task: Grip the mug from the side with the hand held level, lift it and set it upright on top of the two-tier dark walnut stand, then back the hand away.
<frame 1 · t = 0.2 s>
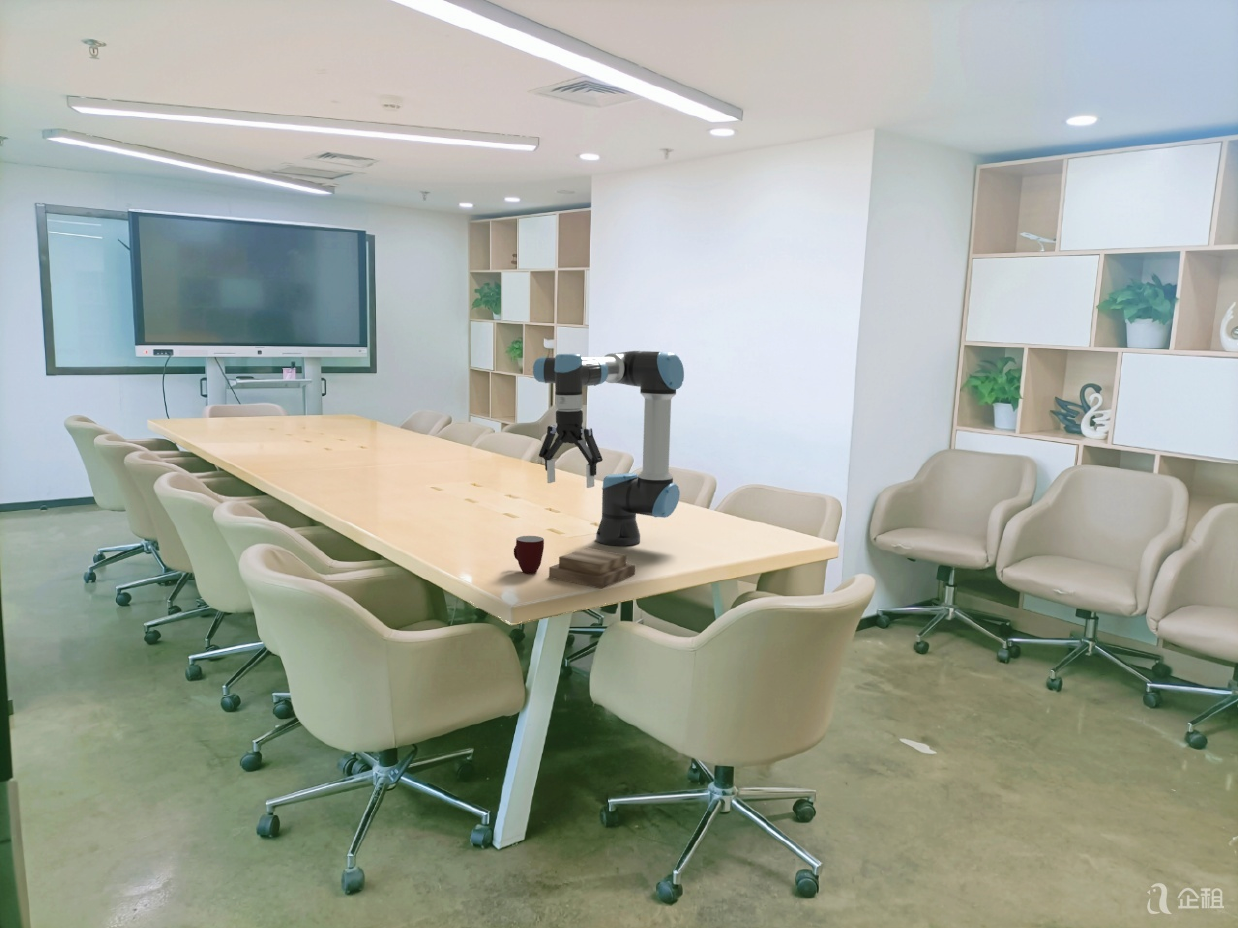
hand: (570, 484, 244), 27 cm above the table, tool pointing down, fingers open, 13 cm apart
mug: (526, 572, 254), on the table
stand: (592, 575, 251), on the table
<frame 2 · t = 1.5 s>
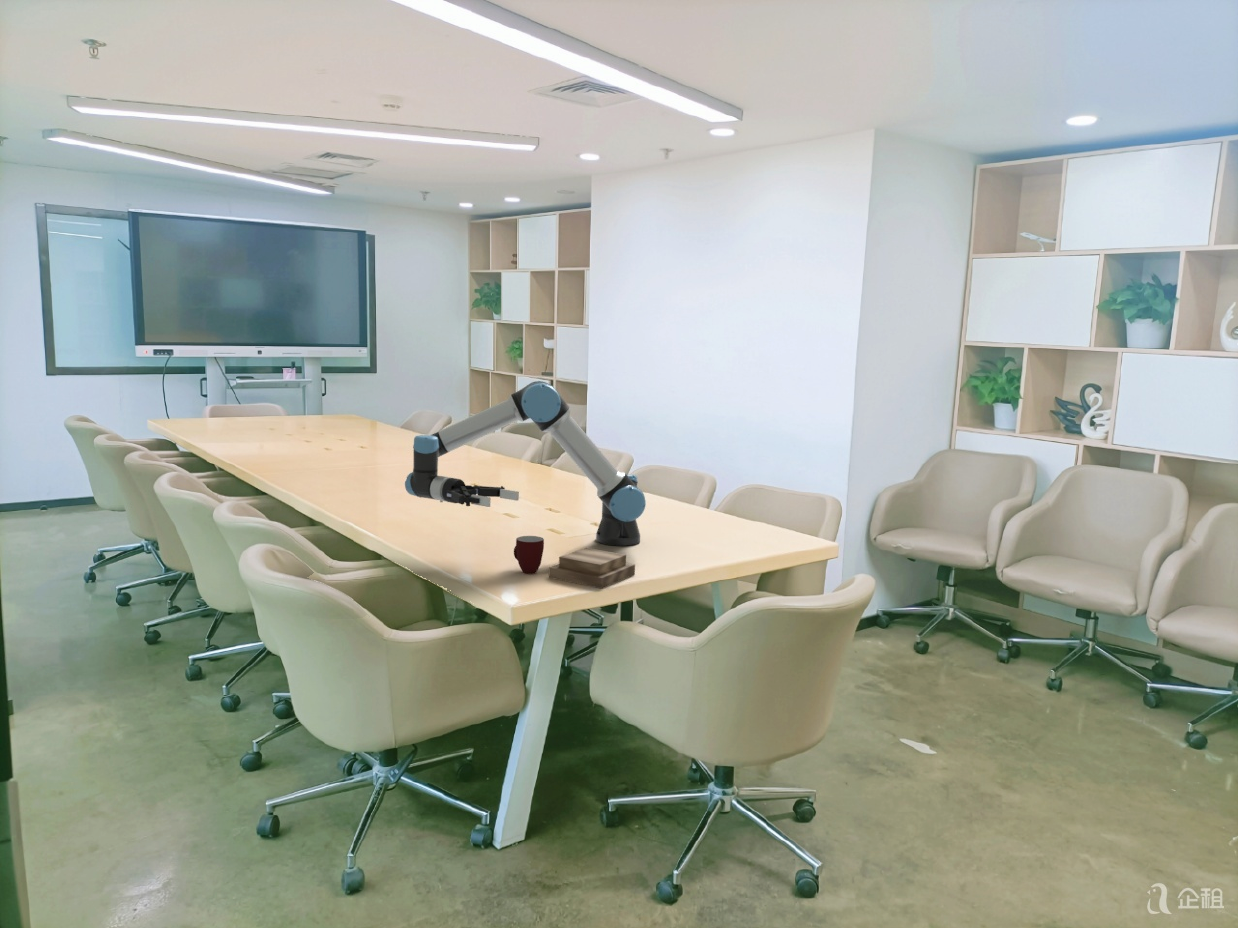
hand: (504, 499, 255), 21 cm above the table, tool horizontal, fingers open, 13 cm apart
nothing on the table moved.
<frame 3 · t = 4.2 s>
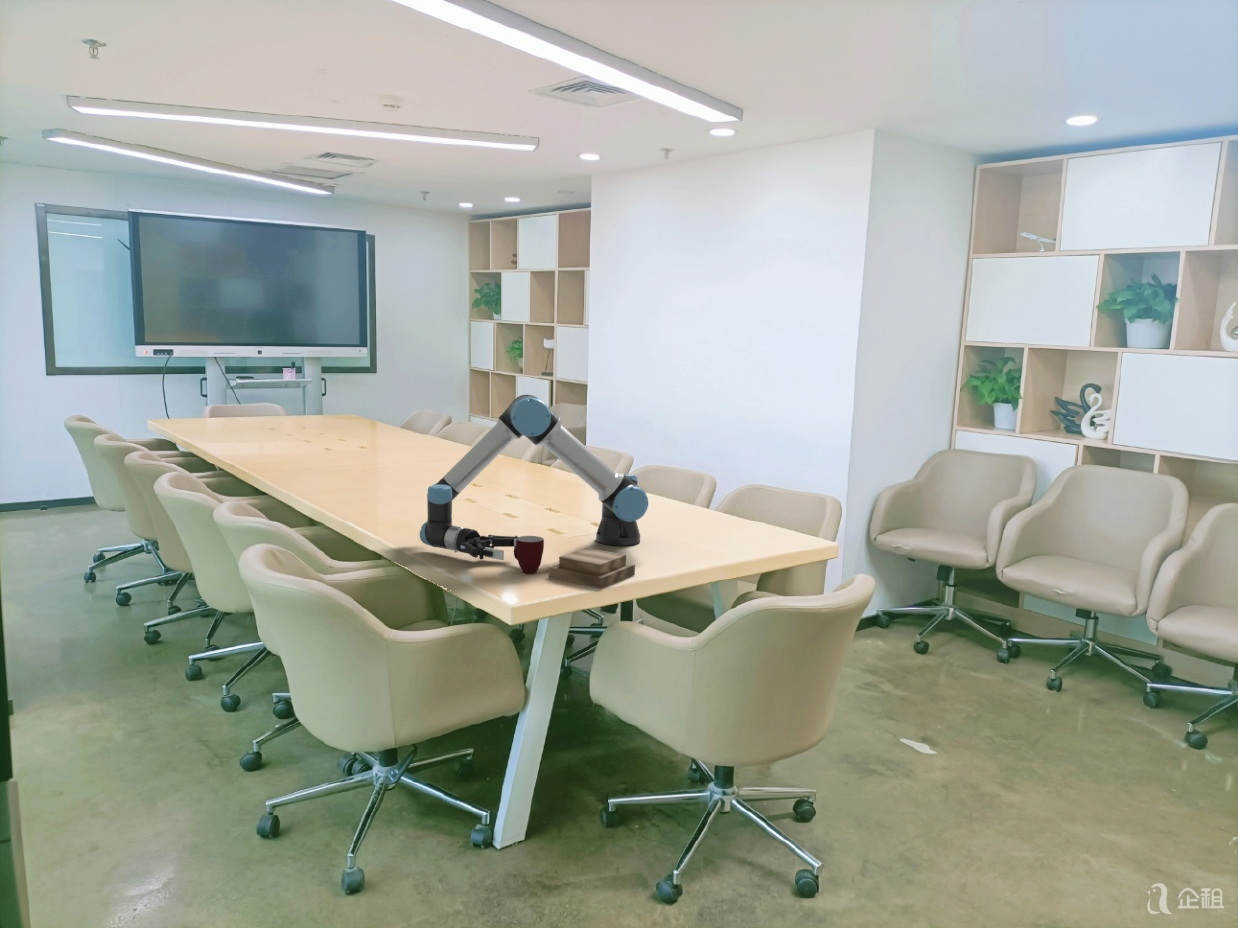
hand: (517, 550, 254), 6 cm above the table, tool horizontal, fingers open, 13 cm apart
nothing on the table moved.
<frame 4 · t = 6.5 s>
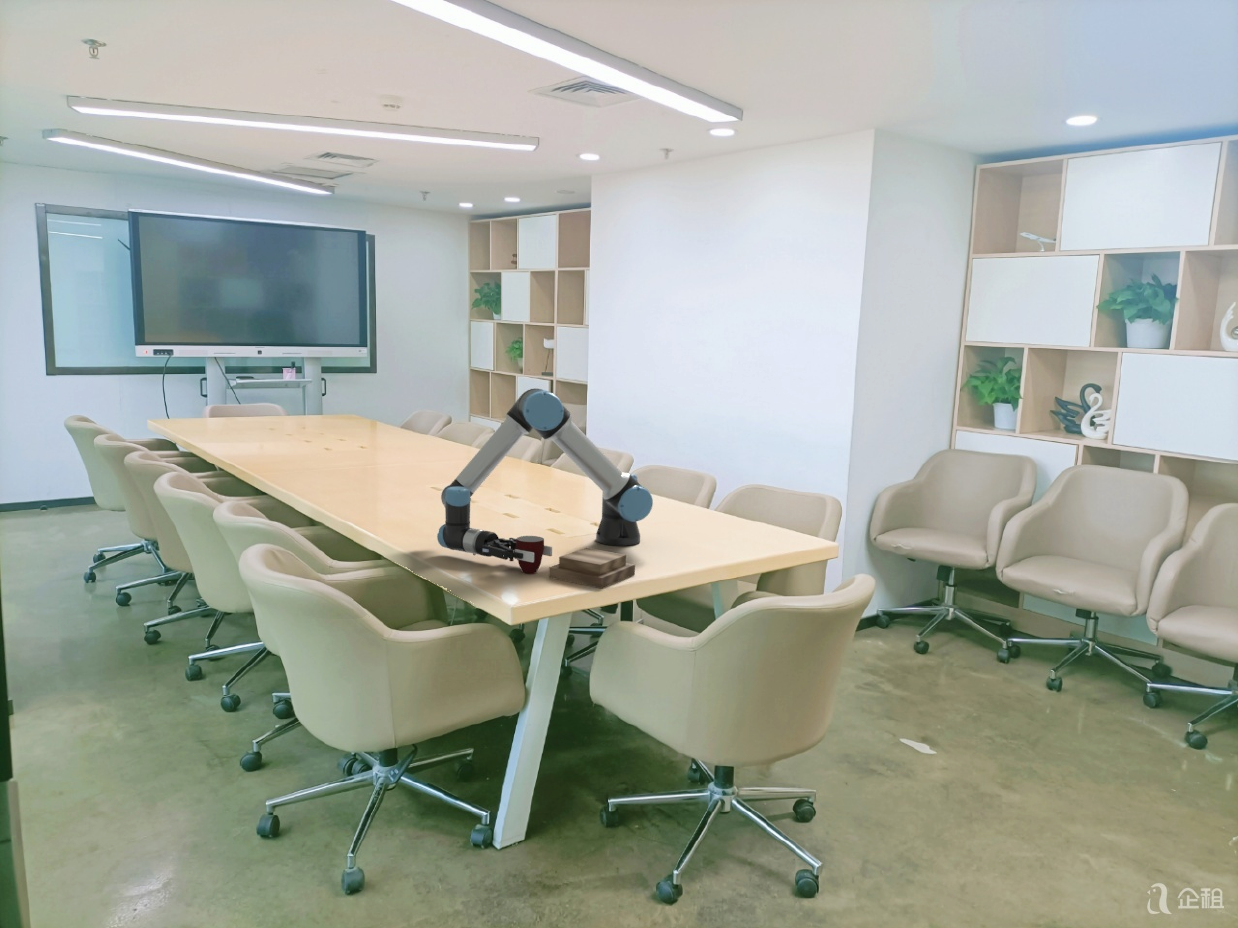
hand: (542, 554, 250), 6 cm above the table, tool horizontal, fingers closed on mug, 8 cm apart
mug: (526, 571, 254), on the table, touching gripper
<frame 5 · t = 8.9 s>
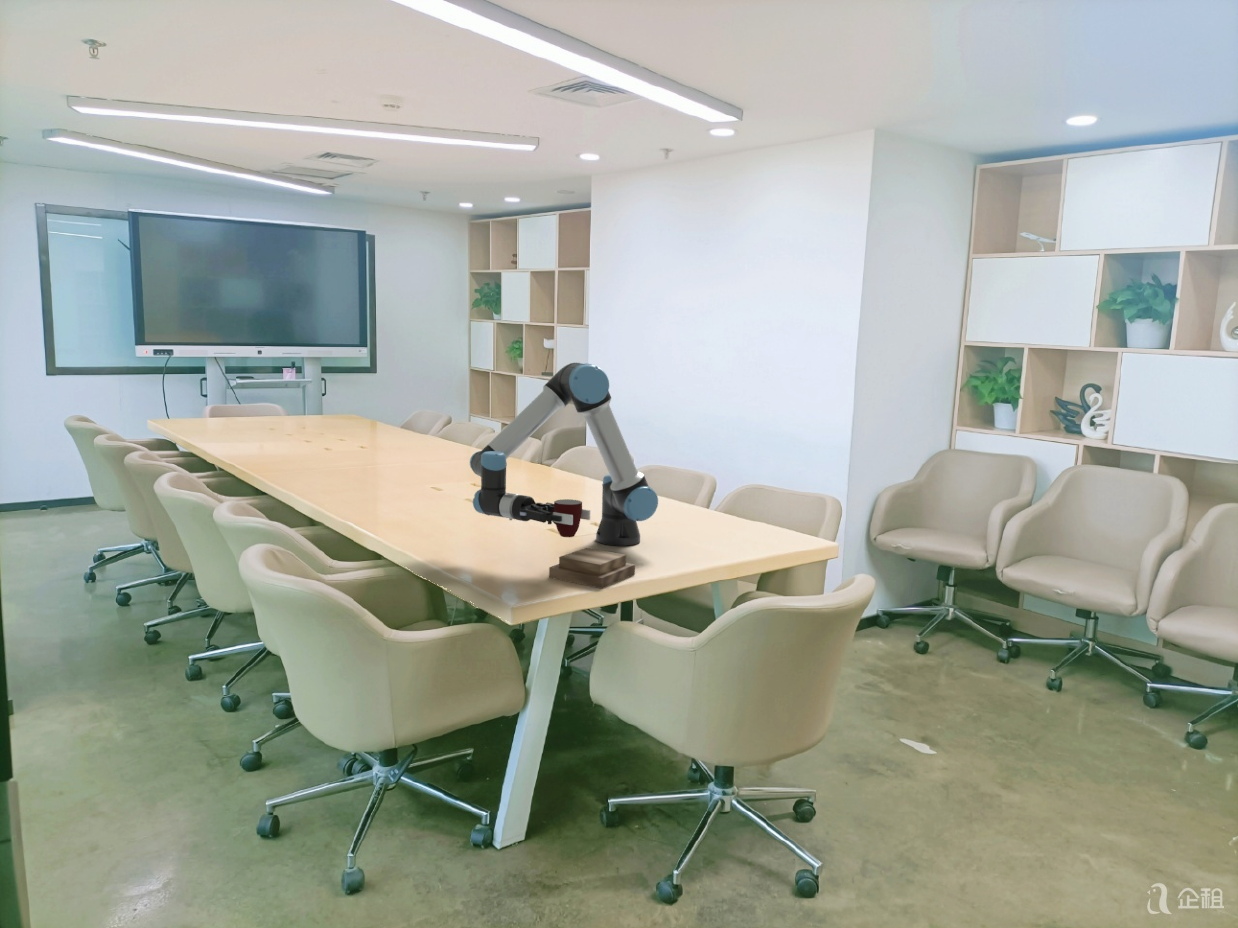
hand: (580, 517, 246), 18 cm above the table, tool horizontal, fingers closed on mug, 8 cm apart
mug: (563, 535, 250), point 12 cm above the table, touching gripper
when the fingers open (13 cm above the table, at t = 11.2 s): mug drops 1 cm, resting on stand.
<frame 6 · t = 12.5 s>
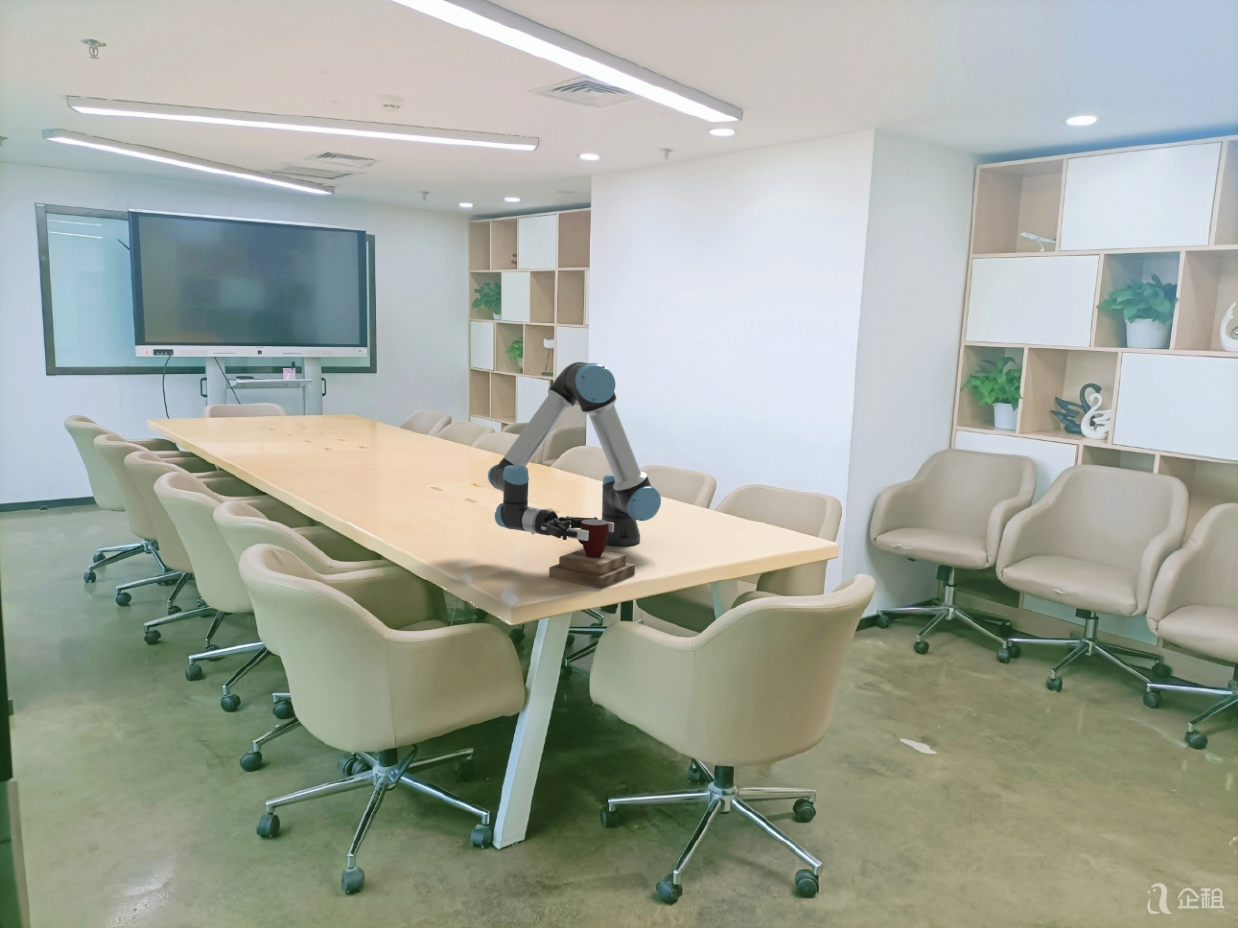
hand: (600, 531, 248), 14 cm above the table, tool horizontal, fingers open, 13 cm apart
mug: (590, 555, 251), point 6 cm above the table, touching stand
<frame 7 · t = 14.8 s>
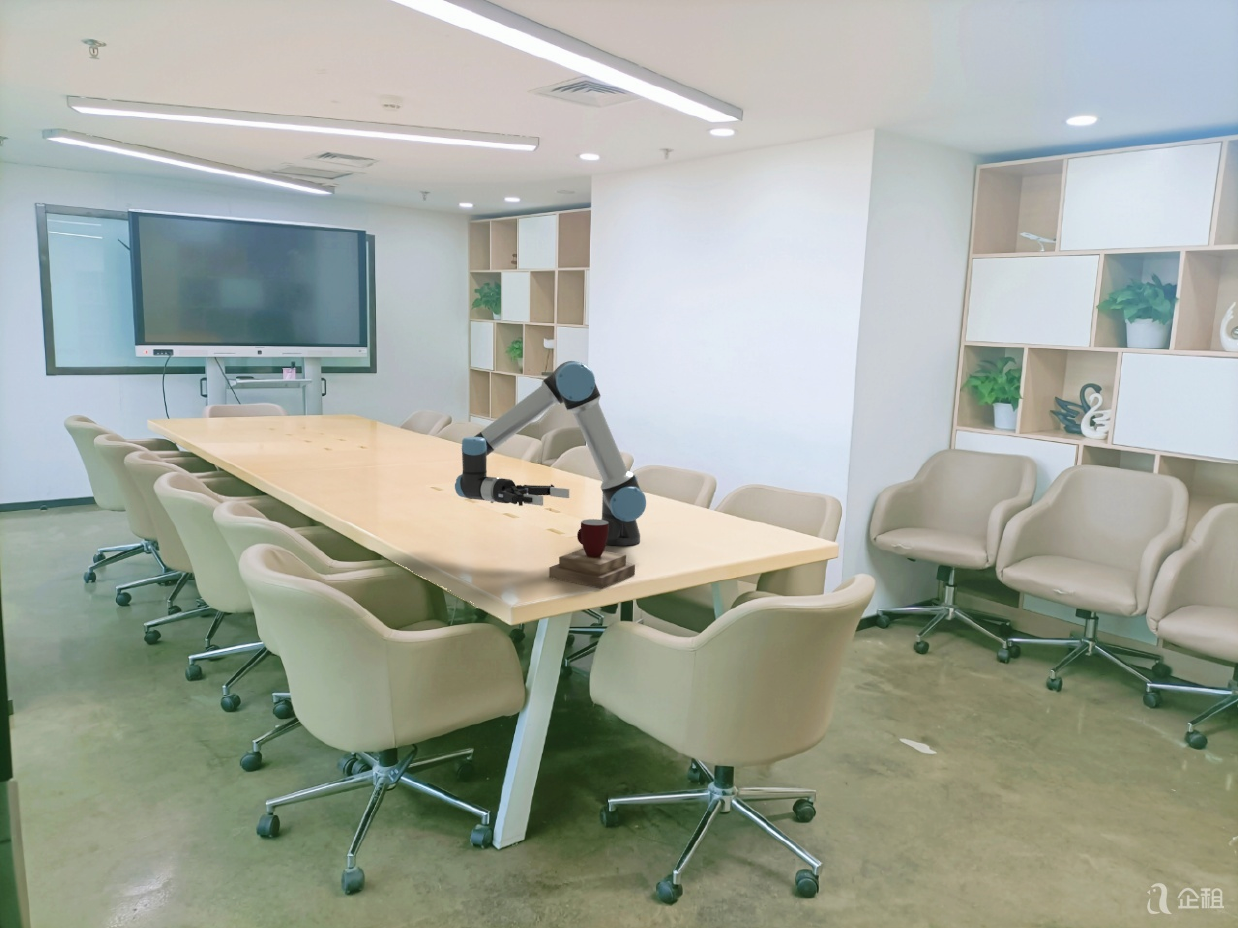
hand: (555, 497, 257), 21 cm above the table, tool horizontal, fingers open, 13 cm apart
nothing on the table moved.
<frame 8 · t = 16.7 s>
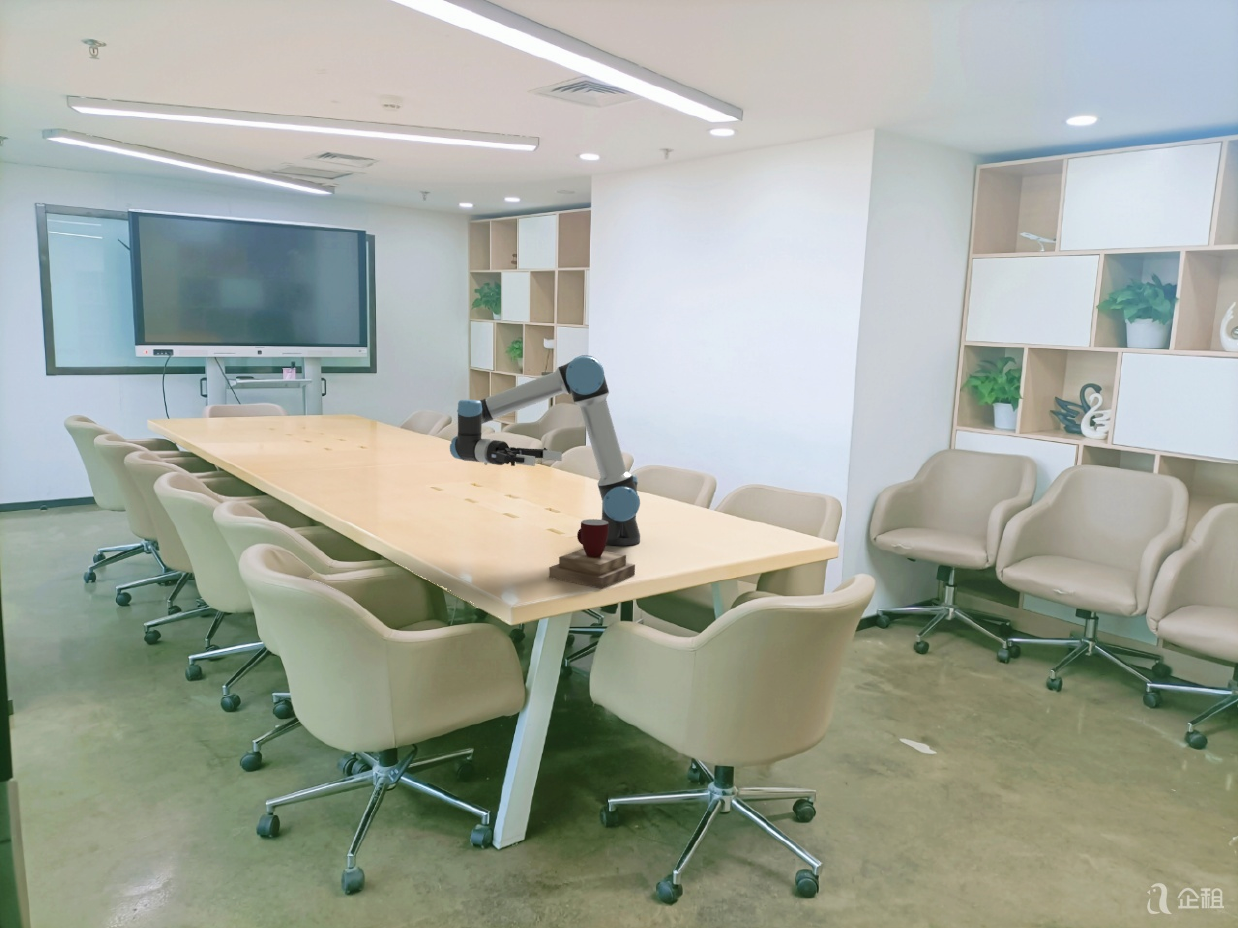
hand: (548, 458, 260), 32 cm above the table, tool horizontal, fingers open, 13 cm apart
nothing on the table moved.
at the end: mug inside the target area on the stand (1.0 cm from its centre), point 5.8 cm above the stand's base; mug tilted 0°; the gripper is holding nothing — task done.
